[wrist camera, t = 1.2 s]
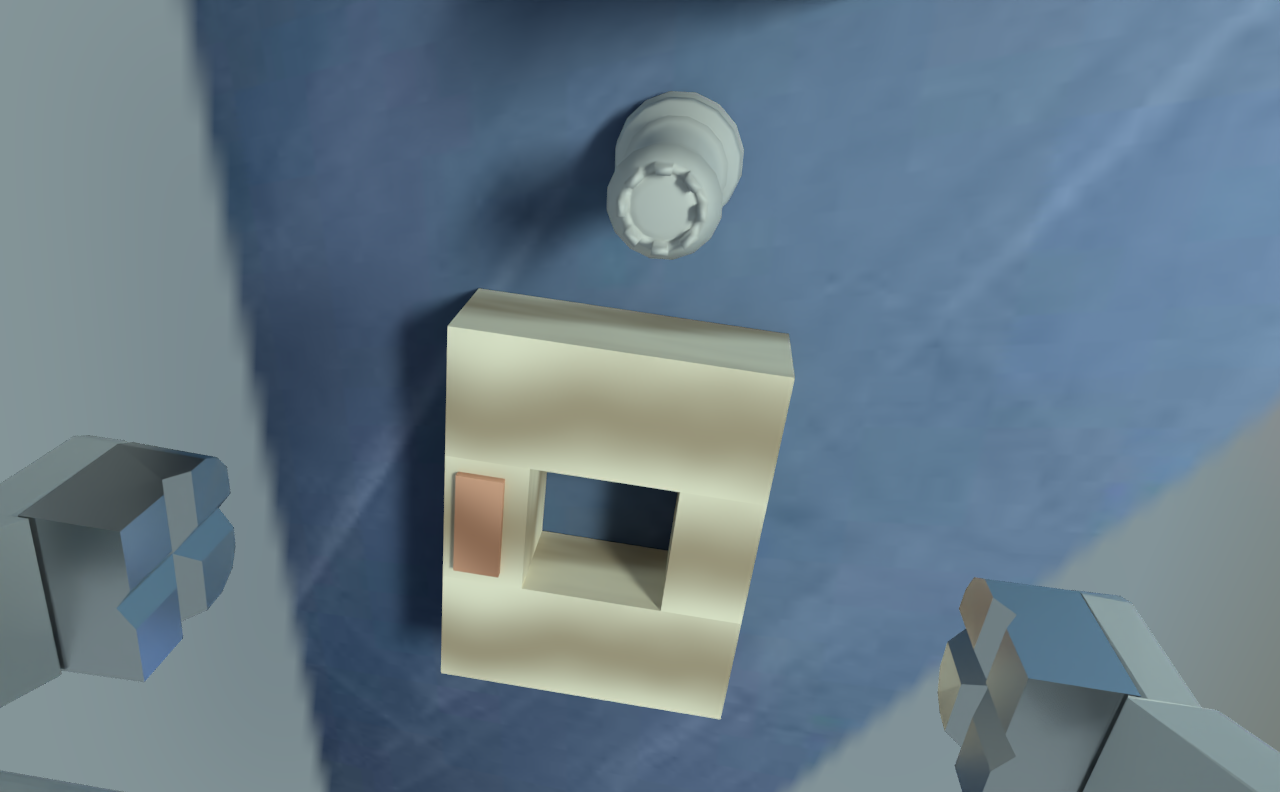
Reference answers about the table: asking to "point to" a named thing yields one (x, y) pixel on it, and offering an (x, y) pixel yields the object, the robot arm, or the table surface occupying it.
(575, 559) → the socket block
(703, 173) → the rook chess piece
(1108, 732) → the robot arm
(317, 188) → the table surface
